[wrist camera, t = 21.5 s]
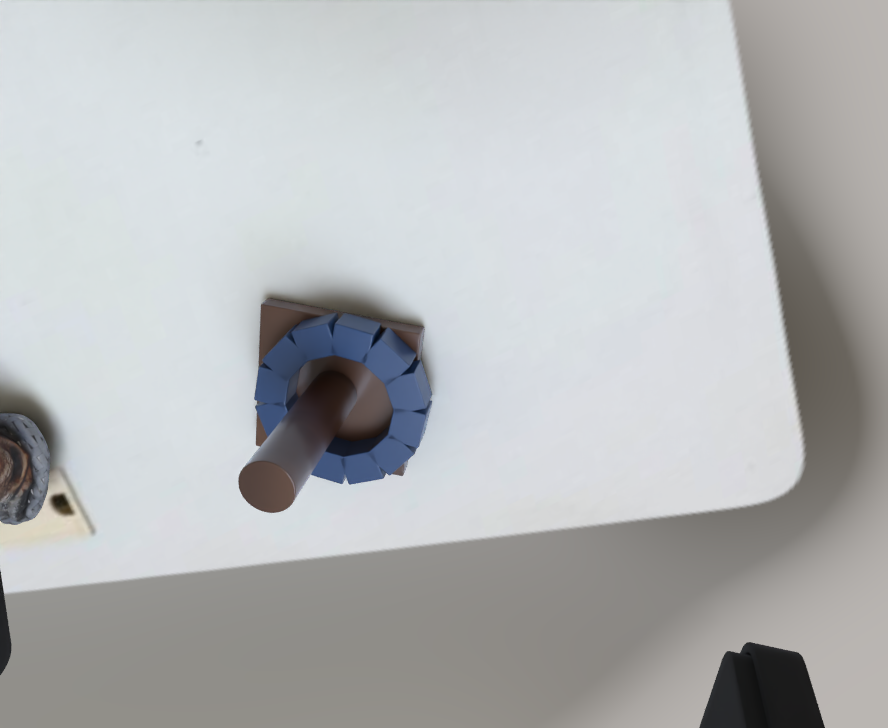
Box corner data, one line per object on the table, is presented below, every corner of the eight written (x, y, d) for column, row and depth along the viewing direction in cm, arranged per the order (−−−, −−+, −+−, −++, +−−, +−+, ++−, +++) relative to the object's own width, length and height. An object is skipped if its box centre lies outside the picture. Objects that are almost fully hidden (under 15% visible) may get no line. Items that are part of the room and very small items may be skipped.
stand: (425, 326, 39) (373, 419, 30) (407, 467, 42) (355, 588, 33) (267, 297, 40) (171, 378, 31) (262, 437, 43) (173, 547, 34)
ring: (400, 296, 37) (392, 307, 36) (451, 451, 40) (445, 467, 39) (243, 334, 40) (229, 346, 38) (301, 479, 42) (290, 495, 41)
